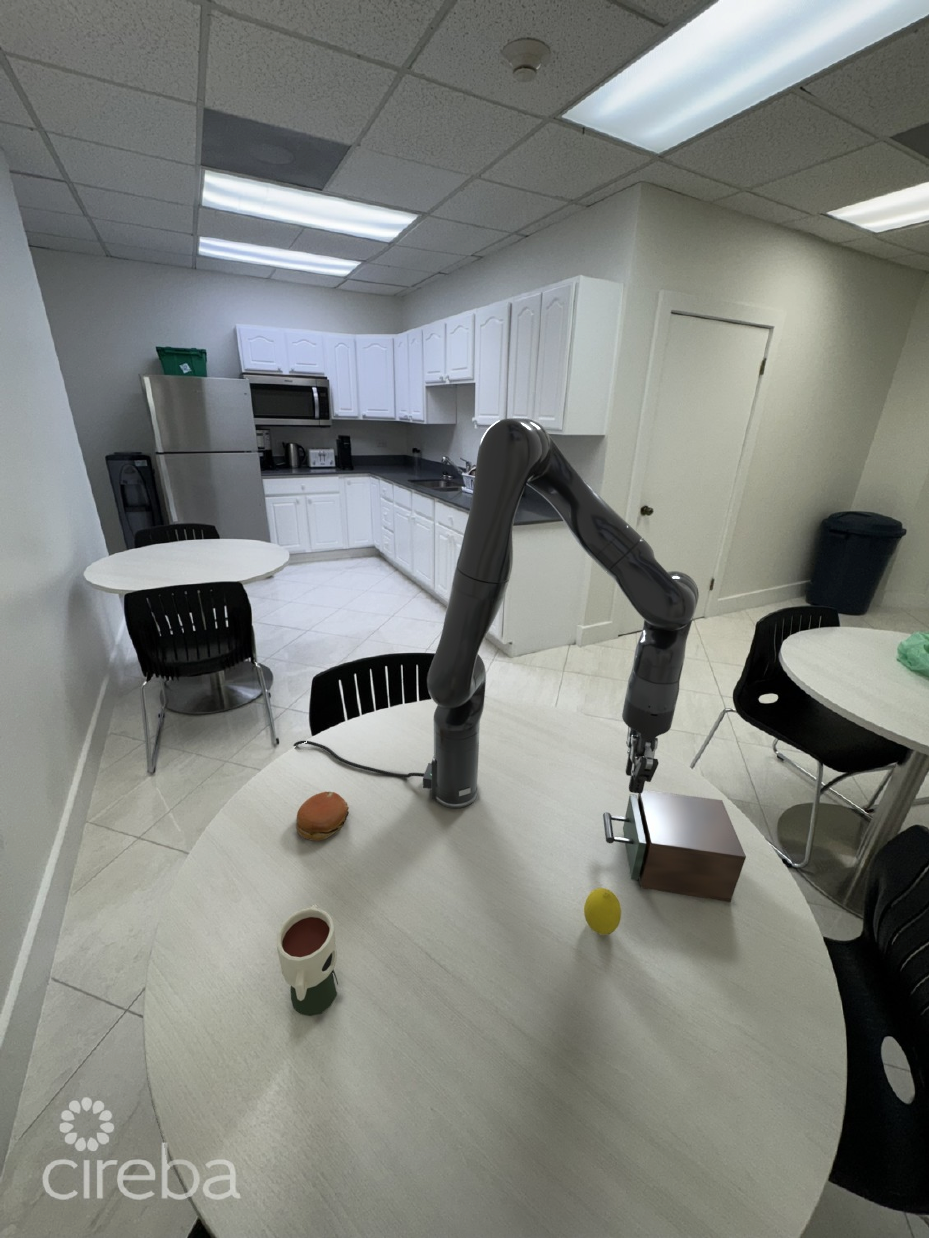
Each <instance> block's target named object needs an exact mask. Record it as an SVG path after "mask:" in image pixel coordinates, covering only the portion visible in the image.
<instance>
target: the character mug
mask: <svg viewBox="0 0 929 1238" xmlns="http://www.w3.org/2000/svg"><path fill="white" fill-rule="evenodd" d="M337 947H338V946H337V943H336V933H335V927H334V922H333V919H332V918H331V916H330V915H329V913H328V912H326V911H325V910H323V909H322V908H319V907H318V905H316V904H313V905H312V906H310V907H307V908H303V909H299V910H298V911H296V912H294V913H293V914H291V915H290V916H289V917H288V918H287V919H286V920H285V921H284V922H283V923H282V924H281V926H280V929H279V930H278V932H277V935H276V949H277V955H278V959H279V965H280V969H281V974H282V976H283V979H284V980H285V983H286V984H287V985H289V986H290V1001H291V1004H292V1009H294V1010H295V1011H296V1012H297V1013H298V1014H299V1015H302V1016H309V1017H312V1016H316V1015H321V1014H323V1013H324V1012H326V1010H328V1008H330V1007H331V1006H332V1005H333V1003H334V1001H335V999H336V997H337V995H338V992H337V987H336V984H337V986H339V981H338V978H337V975H336V971H335V967H336V964H337V960H338V949H337ZM334 978H335V979H334ZM335 981H336V984H335Z"/></svg>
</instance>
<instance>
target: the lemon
mask: <svg viewBox="0 0 929 1238" xmlns="http://www.w3.org/2000/svg"><path fill="white" fill-rule="evenodd" d="M583 906H584V907H583V914H584V919H585V921H586V924H587V926H588V927H589V928H590V929H591V930H592V931H593V932H595V933H596V934H598V935H603V936H604V935H605V936H606V935H610V934H612V933H614V932H616V930H617V929H618V927H619V926H620V922H621V919H622V908H621V902H620V900H619V898H618V897H617V895H616V894H615V893H614V892H613V891H611V890H610V889H608V888H606V887H604V888H603V887H598V888H594V889H593V890H592V891H591V892H590V893H589V894H588V896H587V897H586V899H585V901H584V905H583Z"/></svg>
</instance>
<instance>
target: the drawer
mask: <svg viewBox="0 0 929 1238" xmlns="http://www.w3.org/2000/svg"><path fill="white" fill-rule="evenodd" d="M628 796H629V797H628V801H627V807H626V811H625V816H621V815H611V813H610V812H607V811H605V812H603V814H602V819H603V825H604V827H603V829H604V837H605V842H606V843H607V844H614V843H615V842H616V843H622V844H624V845H625V850H626V857H627V863H628V870H629V877H630V880H632V881H639V874H640V870H641V865H642V861H643V867H644V865H645V861H646V857H647V852H648V848H649V844H650V842H649V837H648V832H647V828H646V823H645V818H644V814H643V809H642V812H641V815H640V810H639V805H638V800H637V799H638V795H637V794H635V793H630V794H629V795H628ZM612 821H616V822H623V826H622V832H623V837H620V836H619V837H618V836H614V829H613V822H612Z"/></svg>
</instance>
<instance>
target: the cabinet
mask: <svg viewBox="0 0 929 1238" xmlns="http://www.w3.org/2000/svg"><path fill="white" fill-rule="evenodd" d="M637 794H638V795H637V800H638V805H639V810H640V815H641V812H642V809H643V814H644V818H645V823H646V828H647V832H648V837H649V842H650V844H649V848H648V852H647V857H646V861H645V865H644V867H643V861H642V865H641V870H640V874H639V878H638V881H639V885H640V889H645V890H652V891H657V892H664V893H671V894H677V895H682V896H689V897H696V898H701V899H707V900H713V901H714V900H715V901H720V902H726V903H731V902H732V899H733V896H734V894H735V891H736V888H737V885H738V881H739V878H740V876H741V873H742V871H743V867H744V864H745V861H746V859H747V856H746V854H745V851H744V848H743V846H742V844H741V841H740V839H739V837H738V835H737V832H736V829H735V828H734V824H733V822H732V820H731V819H730V816H729V813H728V811H727V808H726V806H725V803H724V801H723V799H717V798H708V797H702V796H696V795H695V796H694V795H686V794H678V793H671V792H663V791H656V790H649V789H643V792H642V793H637Z"/></svg>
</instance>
